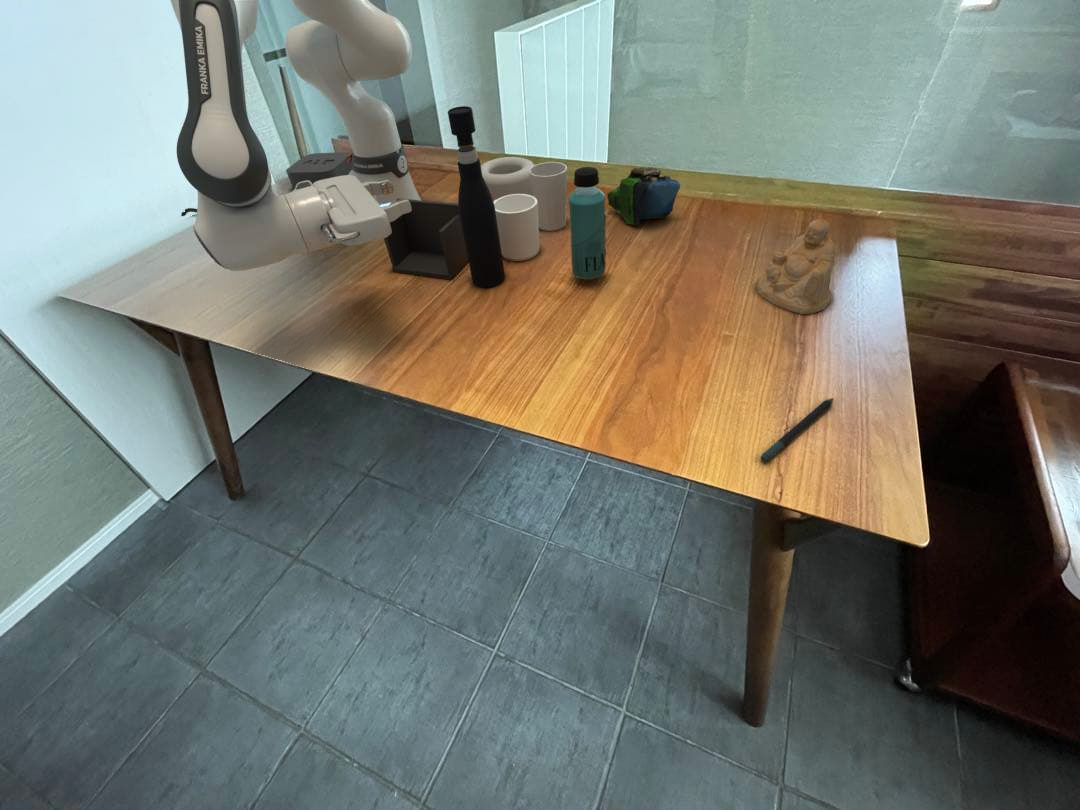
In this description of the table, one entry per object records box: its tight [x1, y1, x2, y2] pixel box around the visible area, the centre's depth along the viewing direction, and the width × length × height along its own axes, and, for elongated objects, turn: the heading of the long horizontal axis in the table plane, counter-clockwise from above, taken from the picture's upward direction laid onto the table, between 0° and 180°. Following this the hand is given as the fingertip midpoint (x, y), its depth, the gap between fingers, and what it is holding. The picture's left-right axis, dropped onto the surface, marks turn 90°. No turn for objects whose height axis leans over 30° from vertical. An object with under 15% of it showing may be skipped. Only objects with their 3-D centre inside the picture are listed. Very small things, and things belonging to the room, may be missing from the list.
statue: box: [756, 218, 836, 315], centre depth 87 cm, size 12×14×10 cm
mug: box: [494, 194, 540, 262], centre depth 107 cm, size 11×9×10 cm
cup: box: [529, 161, 568, 232], centre depth 113 cm, size 8×8×12 cm
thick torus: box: [481, 156, 535, 202], centre depth 130 cm, size 15×15×7 cm
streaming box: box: [285, 152, 352, 190], centre depth 148 cm, size 14×14×5 cm
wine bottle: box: [447, 105, 506, 289], centre depth 92 cm, size 6×6×30 cm
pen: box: [760, 397, 834, 463], centre depth 68 cm, size 1×16×1 cm, turn 129°
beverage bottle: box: [568, 166, 607, 280], centre depth 93 cm, size 6×7×20 cm
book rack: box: [383, 198, 469, 281], centre depth 104 cm, size 14×8×12 cm, turn 68°
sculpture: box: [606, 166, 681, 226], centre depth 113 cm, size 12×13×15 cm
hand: (400, 194), depth 85 cm, fingers open, 8 cm apart
